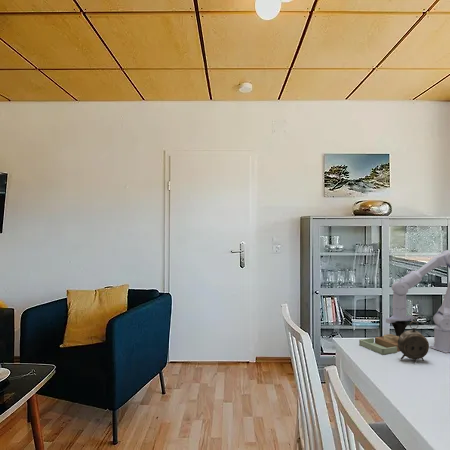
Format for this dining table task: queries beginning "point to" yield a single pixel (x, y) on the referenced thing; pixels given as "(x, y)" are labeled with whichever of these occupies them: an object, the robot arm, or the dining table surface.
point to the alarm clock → (413, 344)
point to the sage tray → (376, 347)
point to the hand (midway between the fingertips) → (399, 337)
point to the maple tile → (391, 337)
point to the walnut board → (386, 343)
